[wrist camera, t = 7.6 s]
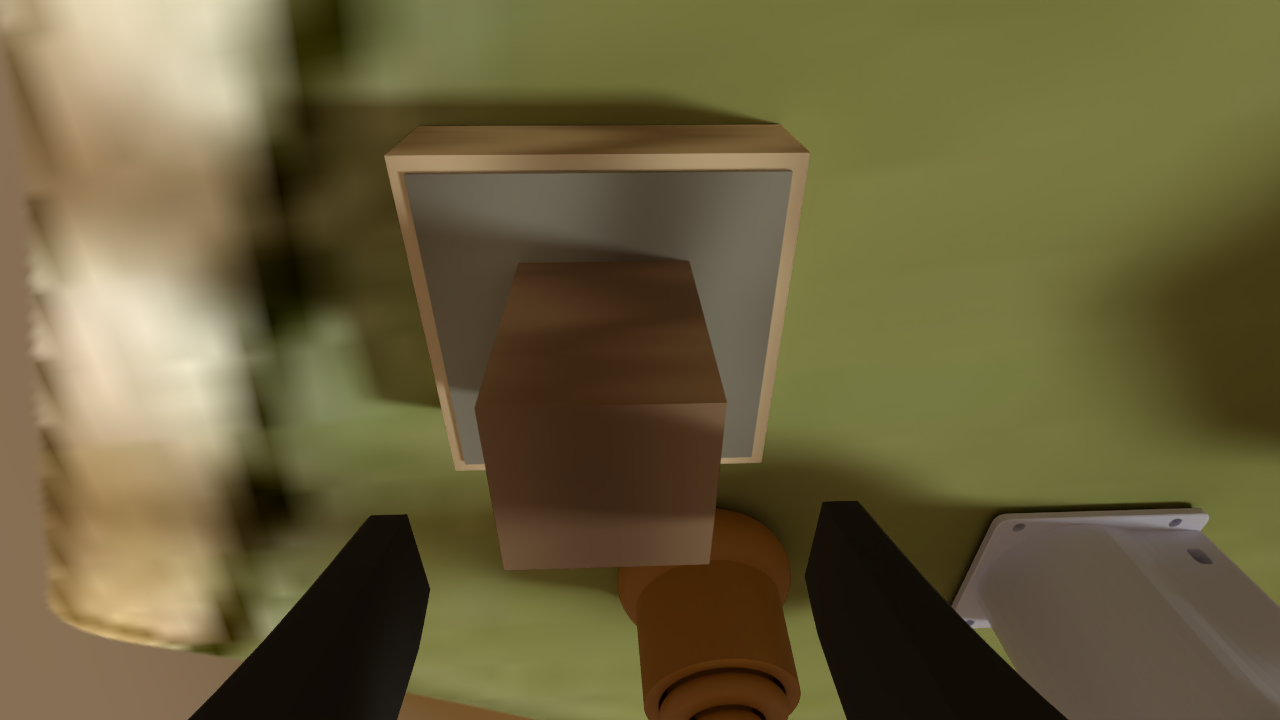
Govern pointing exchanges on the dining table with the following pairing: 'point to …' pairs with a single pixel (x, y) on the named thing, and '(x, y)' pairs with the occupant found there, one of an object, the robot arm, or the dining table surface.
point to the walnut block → (602, 418)
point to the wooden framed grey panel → (601, 240)
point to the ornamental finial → (716, 629)
